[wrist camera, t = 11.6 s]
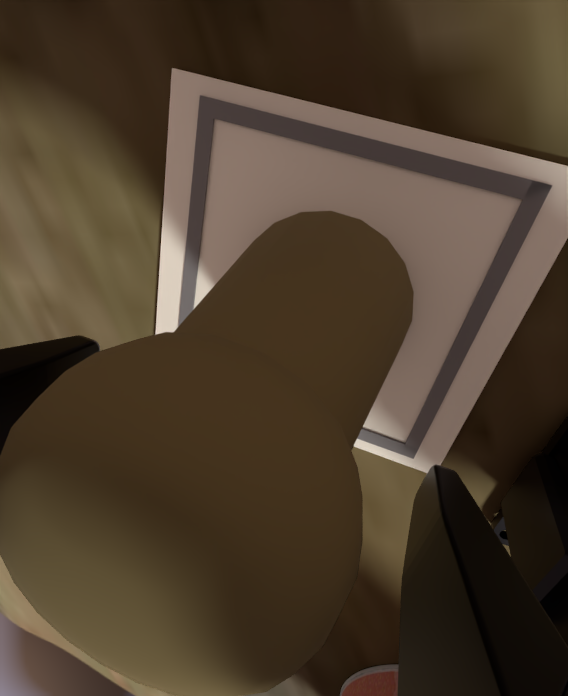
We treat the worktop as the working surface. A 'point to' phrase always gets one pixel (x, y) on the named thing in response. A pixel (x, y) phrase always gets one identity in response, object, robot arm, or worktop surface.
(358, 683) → the canned food
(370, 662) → the worktop surface
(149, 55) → the worktop surface
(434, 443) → the marked card
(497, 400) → the worktop surface
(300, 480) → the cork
